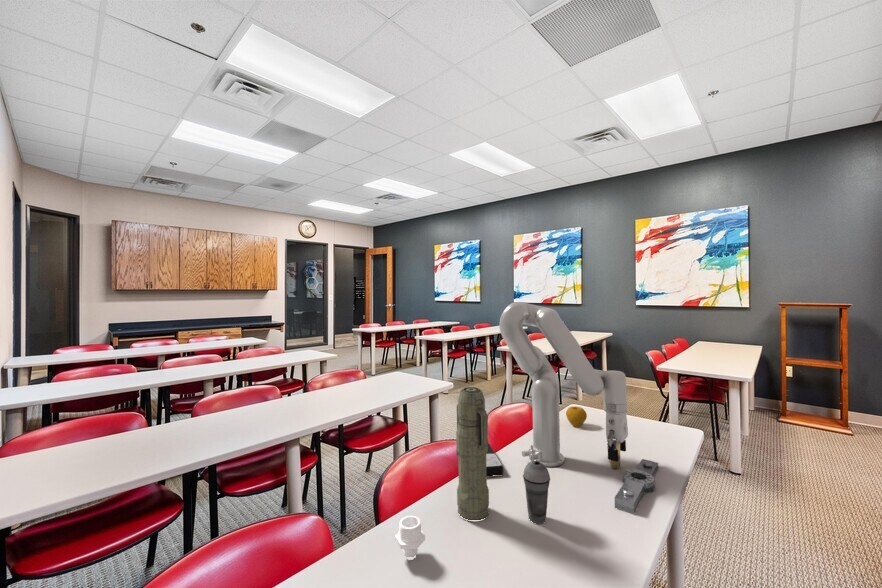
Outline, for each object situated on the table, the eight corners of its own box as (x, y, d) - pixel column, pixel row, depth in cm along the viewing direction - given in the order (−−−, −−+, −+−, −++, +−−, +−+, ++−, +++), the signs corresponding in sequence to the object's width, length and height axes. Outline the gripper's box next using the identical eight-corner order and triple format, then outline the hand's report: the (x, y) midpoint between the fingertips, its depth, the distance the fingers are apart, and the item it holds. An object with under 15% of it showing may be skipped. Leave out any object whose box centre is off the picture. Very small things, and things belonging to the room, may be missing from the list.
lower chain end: (651, 496, 110) (651, 488, 110) (620, 486, 115) (620, 479, 115) (664, 468, 126) (664, 462, 126) (636, 461, 132) (636, 455, 132)
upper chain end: (641, 517, 100) (641, 503, 100) (607, 505, 105) (607, 492, 105) (656, 484, 116) (656, 472, 116) (627, 475, 122) (627, 464, 122)
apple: (585, 423, 171) (585, 403, 171) (588, 430, 162) (588, 410, 162) (565, 421, 173) (565, 402, 173) (567, 428, 164) (567, 408, 164)
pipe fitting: (390, 560, 85) (389, 526, 85) (408, 542, 91) (408, 510, 91) (412, 570, 82) (411, 535, 82) (430, 551, 88) (429, 518, 88)
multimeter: (489, 452, 143) (489, 439, 143) (503, 476, 124) (503, 462, 124) (456, 454, 141) (456, 441, 141) (465, 480, 122) (465, 465, 122)
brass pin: (615, 470, 126) (615, 444, 126) (608, 466, 129) (607, 440, 129) (622, 468, 127) (622, 443, 127) (615, 464, 130) (615, 439, 130)
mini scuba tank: (546, 531, 95) (545, 454, 95) (519, 522, 99) (518, 448, 98) (554, 516, 101) (553, 444, 101) (528, 508, 105) (527, 438, 105)
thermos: (478, 529, 96) (476, 396, 96) (447, 509, 105) (445, 388, 104) (499, 515, 102) (497, 390, 101) (469, 497, 110) (467, 382, 110)
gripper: (619, 415, 119) (622, 467, 119) (633, 402, 132) (635, 449, 132) (596, 411, 124) (598, 461, 123) (610, 398, 137) (612, 444, 137)
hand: (617, 455), depth 128 cm, fingers open, 9 cm apart
